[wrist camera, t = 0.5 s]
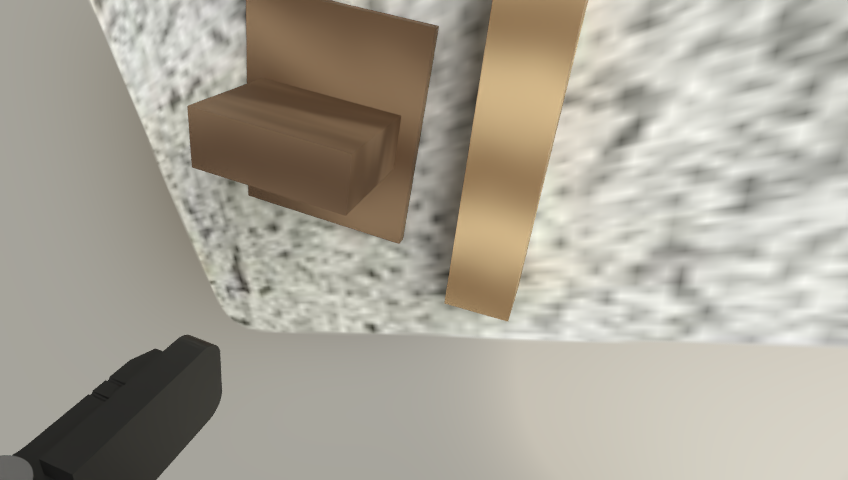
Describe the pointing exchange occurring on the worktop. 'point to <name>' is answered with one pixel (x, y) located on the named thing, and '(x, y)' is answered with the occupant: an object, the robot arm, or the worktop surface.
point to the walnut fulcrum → (323, 113)
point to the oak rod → (510, 147)
